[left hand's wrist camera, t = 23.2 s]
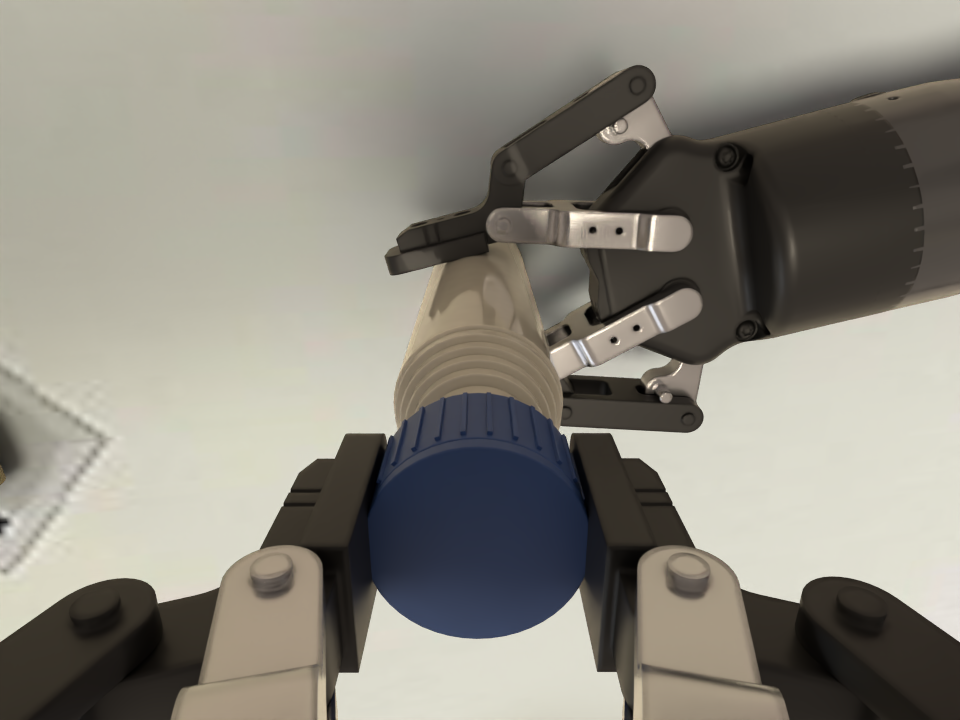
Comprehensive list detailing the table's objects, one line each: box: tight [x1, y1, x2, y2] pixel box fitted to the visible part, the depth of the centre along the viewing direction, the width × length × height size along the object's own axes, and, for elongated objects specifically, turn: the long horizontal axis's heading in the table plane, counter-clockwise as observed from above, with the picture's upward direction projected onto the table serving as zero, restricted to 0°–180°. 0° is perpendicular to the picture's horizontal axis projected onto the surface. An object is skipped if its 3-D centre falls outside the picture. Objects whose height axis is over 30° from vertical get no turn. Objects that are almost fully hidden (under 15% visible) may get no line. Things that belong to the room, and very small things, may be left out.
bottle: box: [394, 242, 563, 431], centre depth 20 cm, size 4×4×20 cm
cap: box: [368, 392, 588, 639], centre depth 11 cm, size 4×4×2 cm
